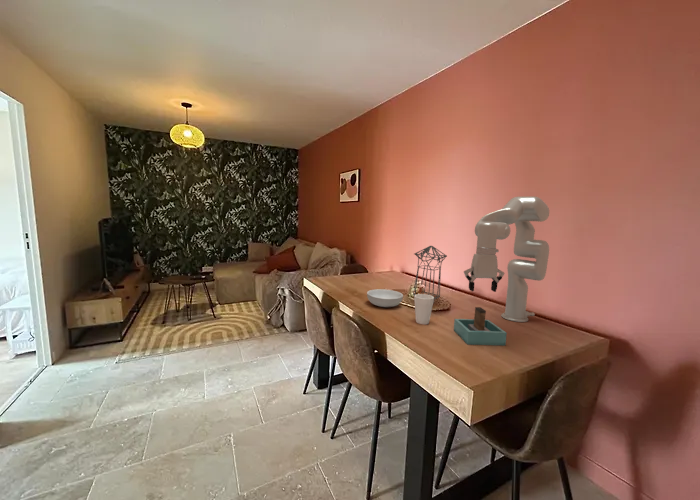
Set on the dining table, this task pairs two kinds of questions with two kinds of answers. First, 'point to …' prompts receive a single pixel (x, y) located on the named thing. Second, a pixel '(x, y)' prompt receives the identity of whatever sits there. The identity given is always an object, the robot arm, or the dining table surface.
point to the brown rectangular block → (479, 318)
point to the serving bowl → (384, 297)
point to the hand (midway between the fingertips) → (482, 290)
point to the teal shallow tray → (479, 333)
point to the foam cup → (423, 308)
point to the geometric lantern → (429, 267)
